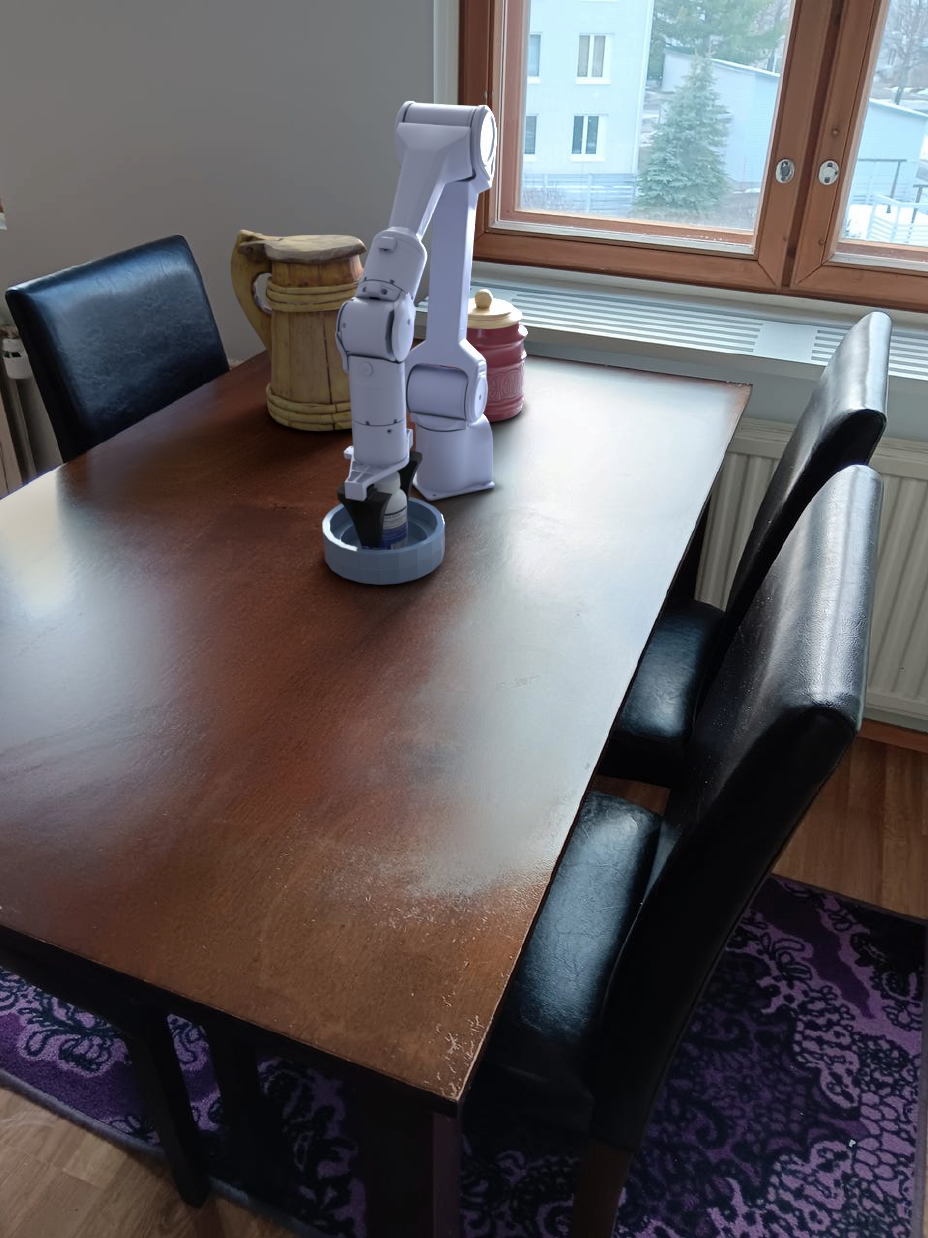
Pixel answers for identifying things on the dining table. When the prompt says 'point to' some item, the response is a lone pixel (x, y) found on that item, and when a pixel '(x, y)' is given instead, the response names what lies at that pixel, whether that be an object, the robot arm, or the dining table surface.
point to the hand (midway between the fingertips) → (383, 529)
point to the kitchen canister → (498, 352)
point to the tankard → (300, 320)
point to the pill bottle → (393, 514)
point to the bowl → (385, 564)
